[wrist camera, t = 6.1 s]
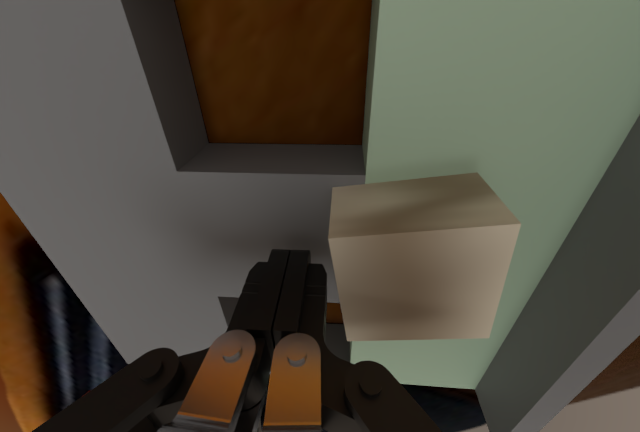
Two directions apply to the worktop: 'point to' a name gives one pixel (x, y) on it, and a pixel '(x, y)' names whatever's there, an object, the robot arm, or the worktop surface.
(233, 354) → the robot arm
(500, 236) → the birch block
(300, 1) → the worktop surface
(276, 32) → the worktop surface
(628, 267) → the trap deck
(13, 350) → the worktop surface
